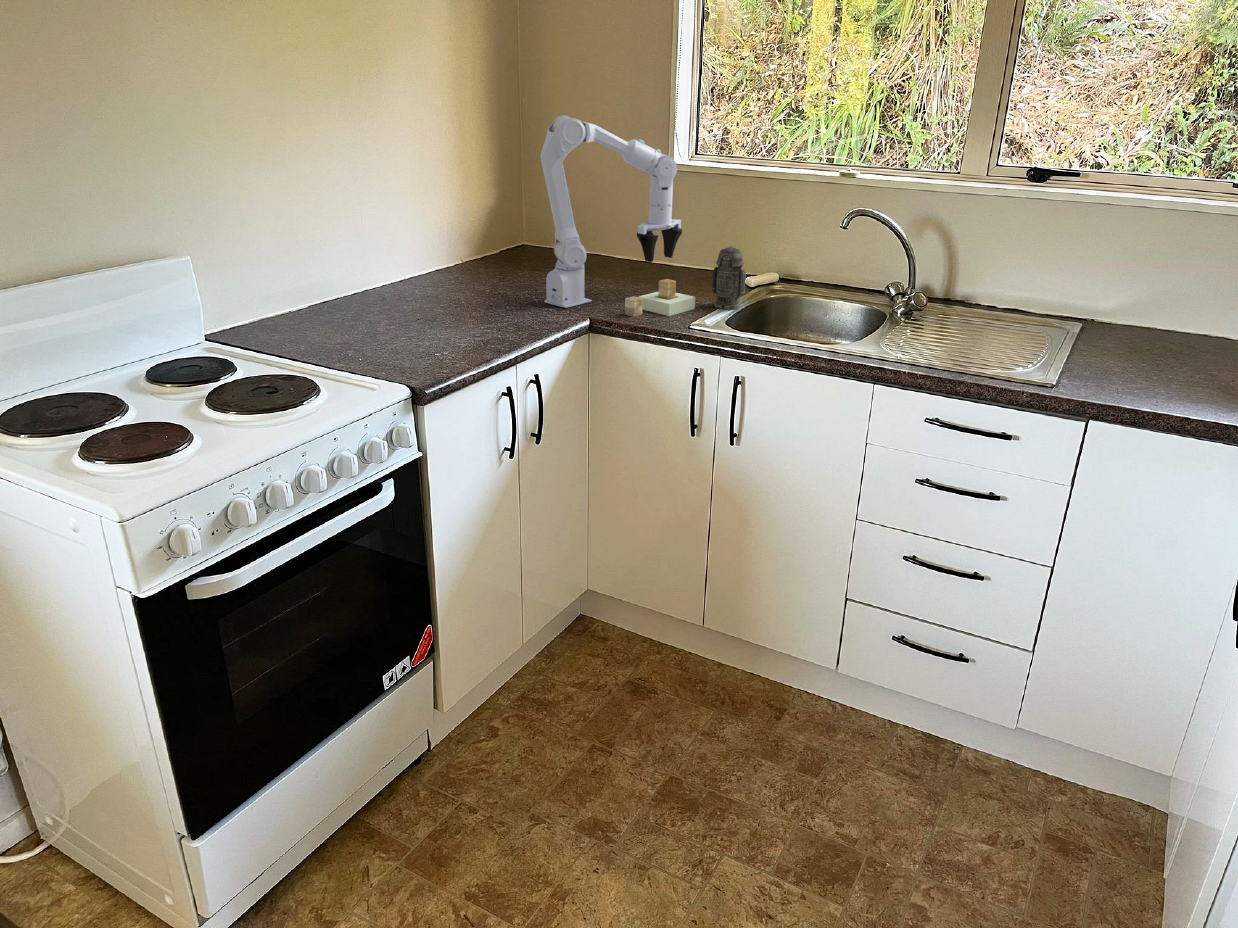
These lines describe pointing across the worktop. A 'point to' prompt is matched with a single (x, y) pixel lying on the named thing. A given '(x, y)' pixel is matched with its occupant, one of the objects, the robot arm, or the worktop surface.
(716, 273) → the toy
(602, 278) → the worktop surface
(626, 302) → the short pin
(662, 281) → the long pin
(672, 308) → the socket
